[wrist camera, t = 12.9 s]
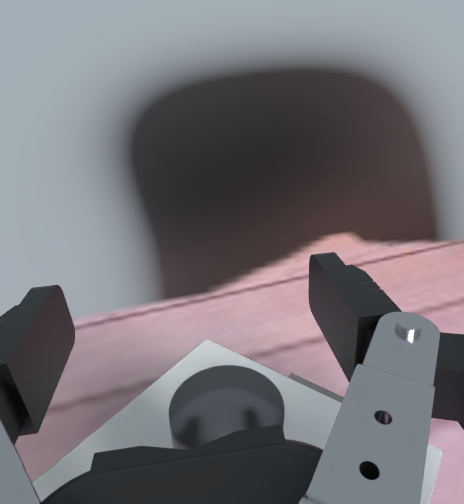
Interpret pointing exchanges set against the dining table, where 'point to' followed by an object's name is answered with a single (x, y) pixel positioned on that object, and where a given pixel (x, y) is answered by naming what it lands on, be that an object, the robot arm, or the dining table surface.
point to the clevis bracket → (158, 427)
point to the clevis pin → (222, 405)
